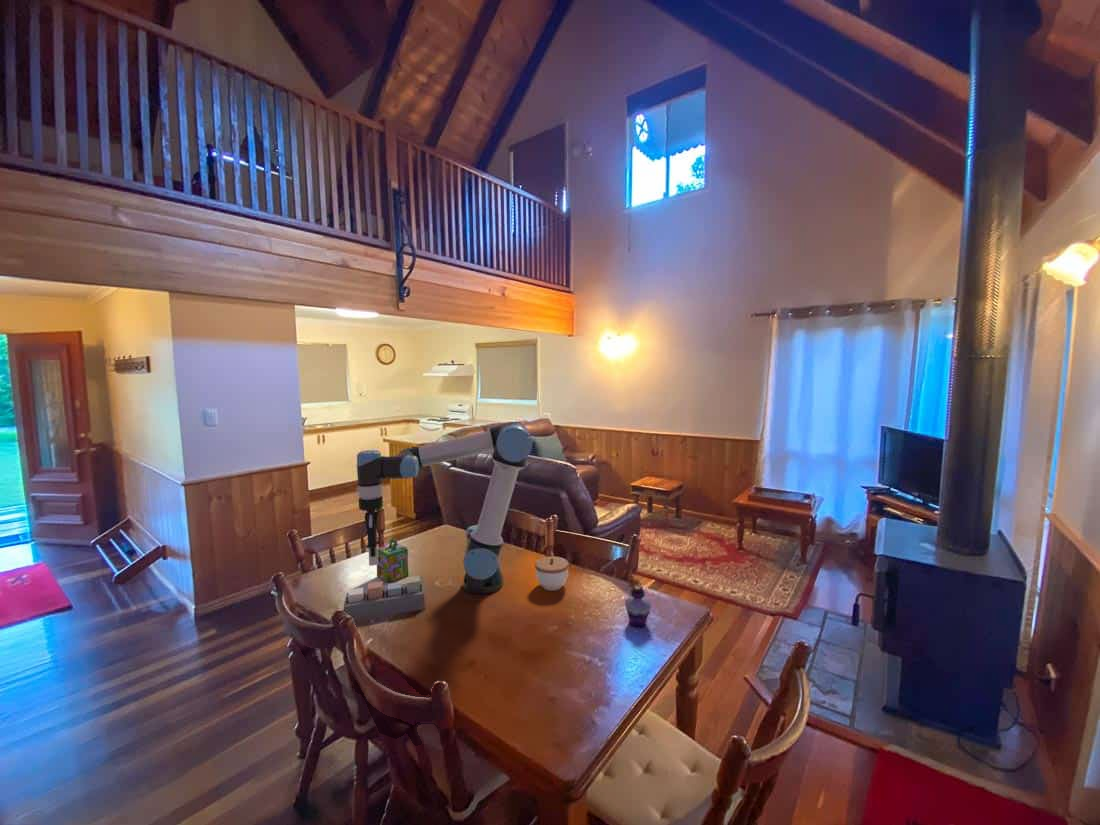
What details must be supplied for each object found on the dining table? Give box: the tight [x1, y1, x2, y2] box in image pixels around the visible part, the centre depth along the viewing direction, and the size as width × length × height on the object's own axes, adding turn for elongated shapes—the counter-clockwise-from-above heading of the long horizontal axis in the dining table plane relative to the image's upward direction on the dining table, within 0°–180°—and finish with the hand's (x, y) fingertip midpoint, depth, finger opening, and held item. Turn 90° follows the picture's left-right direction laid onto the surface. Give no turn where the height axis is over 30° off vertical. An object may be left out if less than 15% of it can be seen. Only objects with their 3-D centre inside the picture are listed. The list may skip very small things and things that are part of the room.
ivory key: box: [348, 587, 364, 603], centre depth 155 cm, size 4×4×5 cm
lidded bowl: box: [534, 556, 570, 592], centre depth 172 cm, size 13×13×11 cm
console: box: [343, 580, 426, 622], centre depth 158 cm, size 25×10×6 cm, turn 108°
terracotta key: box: [367, 580, 384, 600], centre depth 156 cm, size 4×4×5 cm
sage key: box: [405, 575, 421, 594], centre depth 160 cm, size 4×4×5 cm
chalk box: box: [376, 538, 410, 584], centre depth 182 cm, size 9×9×15 cm
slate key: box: [387, 581, 402, 597], centre depth 158 cm, size 4×4×5 cm
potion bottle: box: [624, 585, 652, 629], centre depth 146 cm, size 9×9×12 cm
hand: (373, 564), depth 155 cm, fingers closed
